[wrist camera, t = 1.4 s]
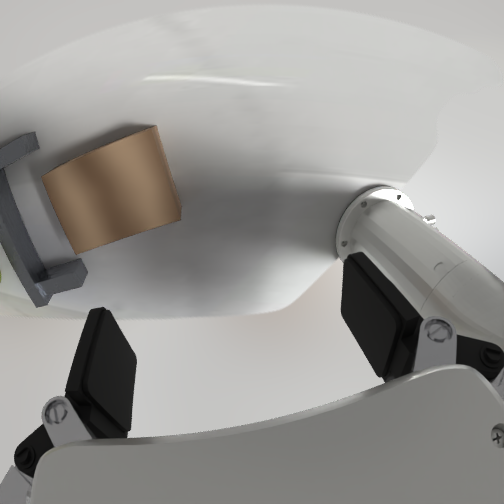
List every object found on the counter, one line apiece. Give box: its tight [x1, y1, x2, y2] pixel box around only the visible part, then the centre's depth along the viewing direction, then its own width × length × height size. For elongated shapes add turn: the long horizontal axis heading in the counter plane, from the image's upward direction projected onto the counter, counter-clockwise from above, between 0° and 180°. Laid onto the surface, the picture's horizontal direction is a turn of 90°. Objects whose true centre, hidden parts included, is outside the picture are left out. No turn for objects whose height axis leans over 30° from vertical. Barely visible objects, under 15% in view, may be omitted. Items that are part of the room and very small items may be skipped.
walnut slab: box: [41, 126, 182, 255], centre depth 26 cm, size 12×9×4 cm
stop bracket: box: [0, 132, 88, 308], centre depth 25 cm, size 8×20×4 cm, turn 9°
